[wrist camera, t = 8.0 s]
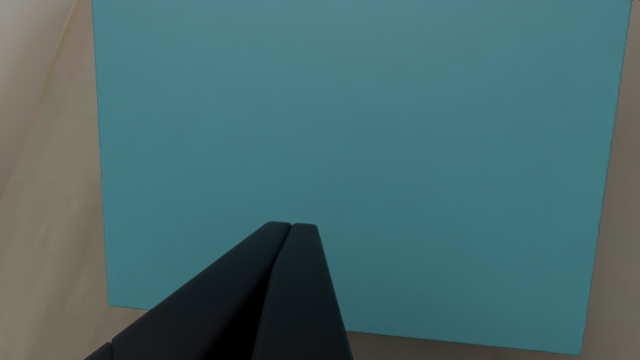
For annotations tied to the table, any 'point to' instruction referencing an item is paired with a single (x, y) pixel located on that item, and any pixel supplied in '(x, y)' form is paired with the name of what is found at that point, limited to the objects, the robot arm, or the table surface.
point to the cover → (367, 152)
